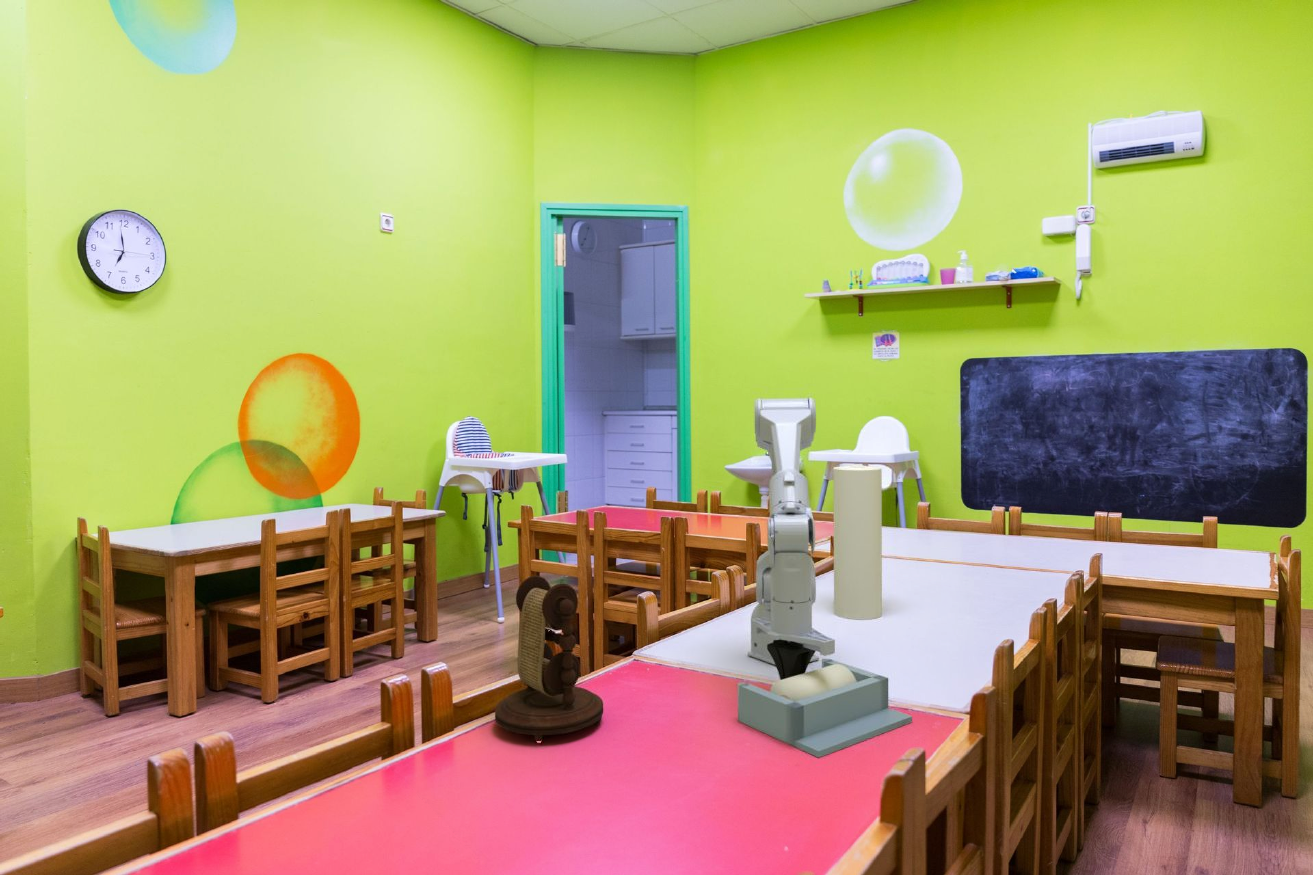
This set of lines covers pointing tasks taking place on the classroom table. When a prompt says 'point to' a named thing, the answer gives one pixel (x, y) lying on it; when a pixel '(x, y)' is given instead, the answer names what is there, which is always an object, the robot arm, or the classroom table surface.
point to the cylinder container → (857, 542)
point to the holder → (823, 713)
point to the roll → (813, 682)
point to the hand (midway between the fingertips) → (791, 692)
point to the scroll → (547, 666)
